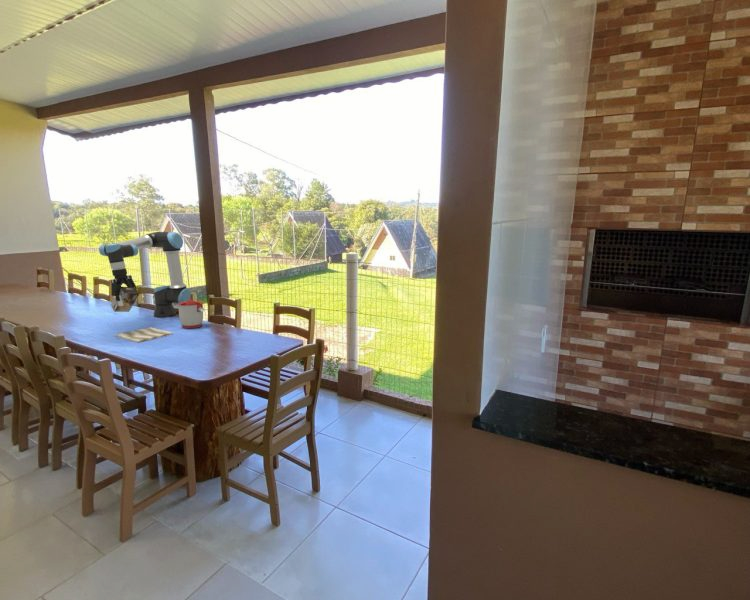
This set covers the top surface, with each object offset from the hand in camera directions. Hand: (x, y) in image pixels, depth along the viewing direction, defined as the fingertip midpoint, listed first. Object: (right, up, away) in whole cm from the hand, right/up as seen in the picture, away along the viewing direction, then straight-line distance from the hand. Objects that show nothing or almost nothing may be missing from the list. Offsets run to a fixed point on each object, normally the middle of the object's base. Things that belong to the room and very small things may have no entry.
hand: (128, 303), depth 237 cm
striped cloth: (+9, -20, +2) cm, 22 cm away
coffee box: (-7, -3, +2) cm, 8 cm away
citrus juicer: (+29, -17, +25) cm, 42 cm away
